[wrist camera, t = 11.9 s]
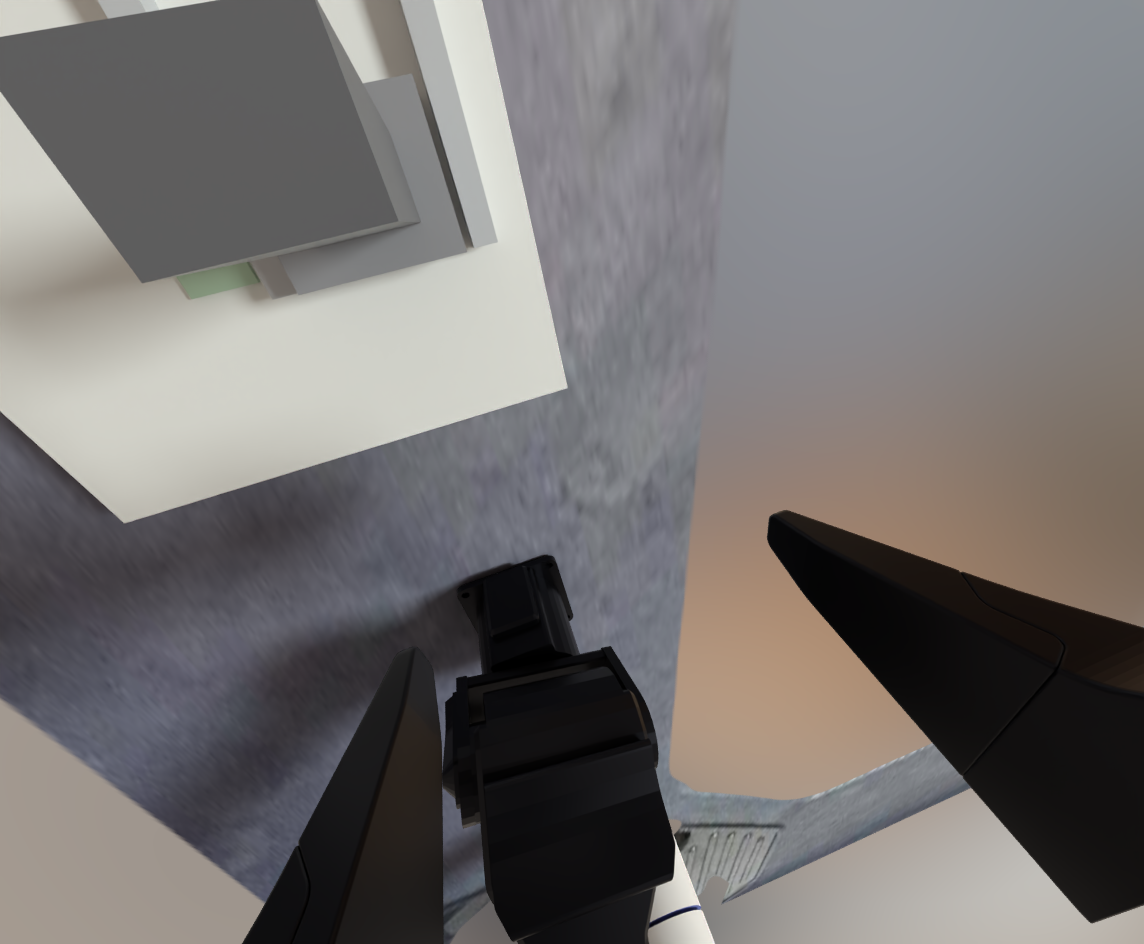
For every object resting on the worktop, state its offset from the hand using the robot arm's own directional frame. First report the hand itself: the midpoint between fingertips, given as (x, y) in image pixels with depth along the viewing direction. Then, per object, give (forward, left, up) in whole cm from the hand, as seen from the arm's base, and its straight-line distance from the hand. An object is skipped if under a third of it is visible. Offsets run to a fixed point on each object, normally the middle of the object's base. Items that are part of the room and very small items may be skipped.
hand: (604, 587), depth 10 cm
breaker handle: (+9, +3, -10) cm, 14 cm away
